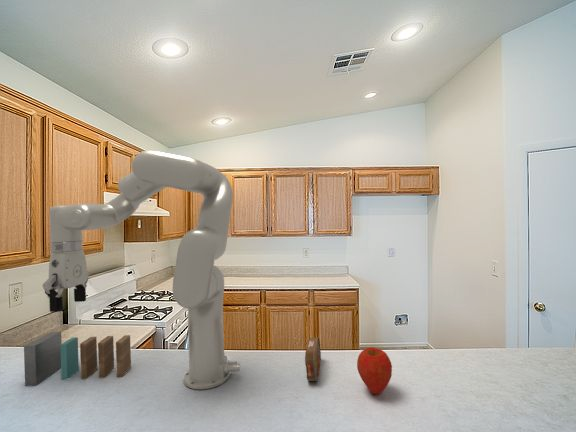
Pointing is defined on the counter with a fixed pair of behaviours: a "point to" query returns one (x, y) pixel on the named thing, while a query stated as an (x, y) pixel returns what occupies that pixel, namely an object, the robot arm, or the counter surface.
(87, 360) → the domino
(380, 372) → the apple
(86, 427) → the counter surface
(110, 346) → the domino
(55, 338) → the block
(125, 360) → the domino
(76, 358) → the domino
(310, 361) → the tin
